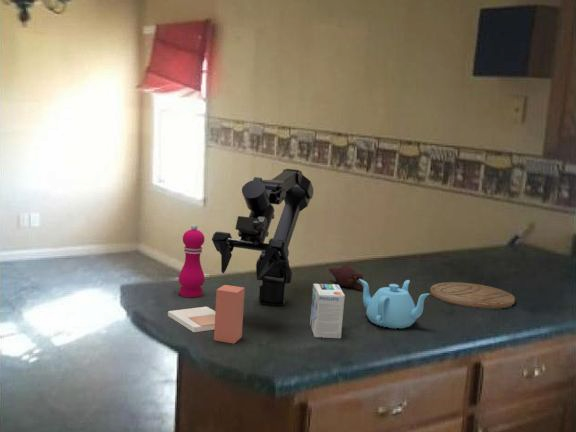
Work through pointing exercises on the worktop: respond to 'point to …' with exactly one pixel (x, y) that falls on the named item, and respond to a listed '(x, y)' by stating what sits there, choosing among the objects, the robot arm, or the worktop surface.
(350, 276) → the maroon lumpy piece
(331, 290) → the light bulb box
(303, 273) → the worktop surface
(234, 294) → the block
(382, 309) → the teapot
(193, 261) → the pepper mill
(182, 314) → the board
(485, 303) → the trivet
